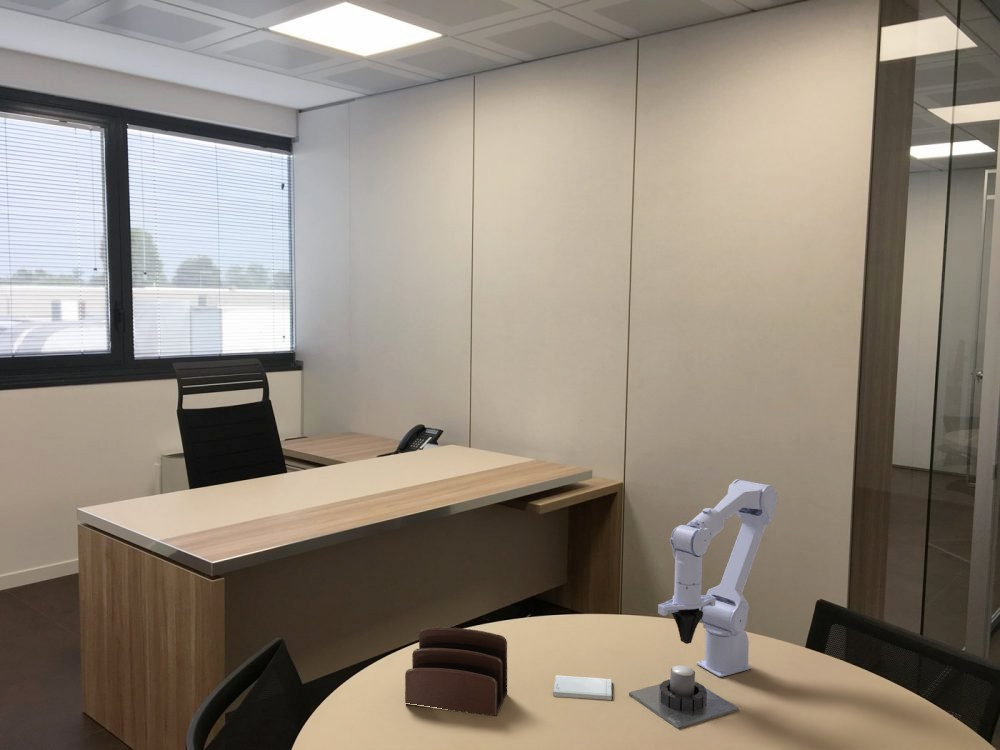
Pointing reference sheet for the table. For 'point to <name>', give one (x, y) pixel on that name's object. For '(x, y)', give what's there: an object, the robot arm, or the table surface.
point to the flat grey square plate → (683, 704)
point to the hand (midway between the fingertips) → (685, 641)
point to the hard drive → (582, 687)
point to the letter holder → (458, 671)
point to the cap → (682, 681)
